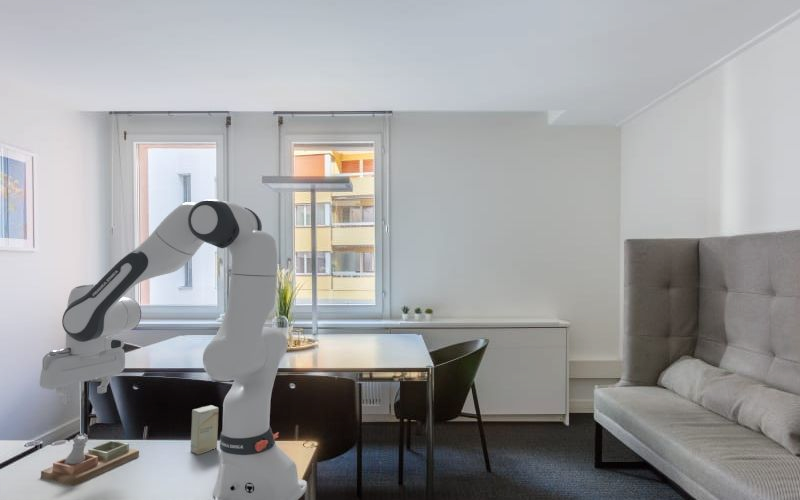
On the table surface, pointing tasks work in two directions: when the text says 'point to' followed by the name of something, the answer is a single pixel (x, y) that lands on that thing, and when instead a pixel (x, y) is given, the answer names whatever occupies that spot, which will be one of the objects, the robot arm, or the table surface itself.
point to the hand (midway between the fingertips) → (84, 397)
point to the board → (91, 463)
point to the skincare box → (204, 429)
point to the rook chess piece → (77, 450)
